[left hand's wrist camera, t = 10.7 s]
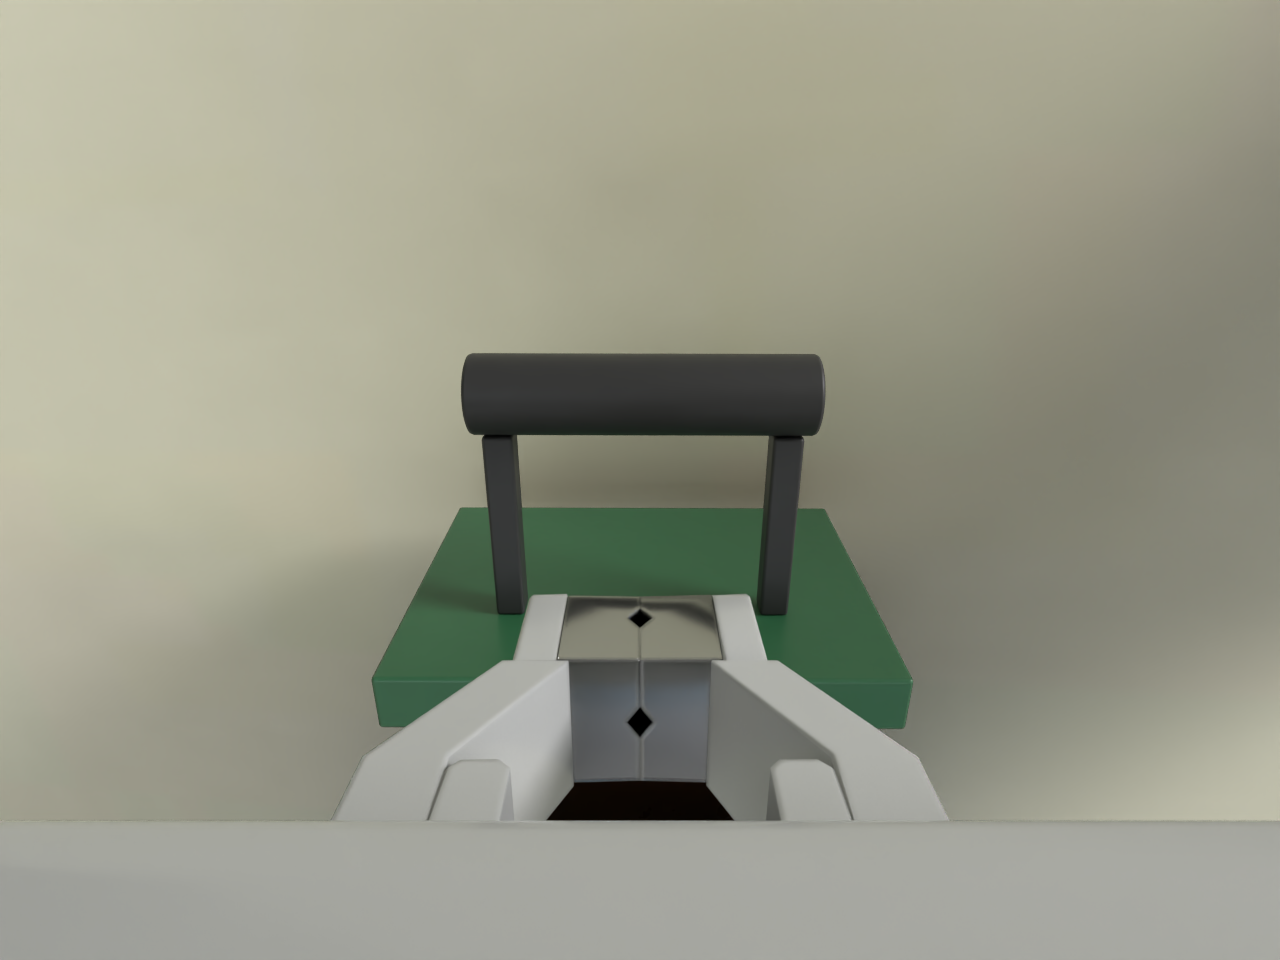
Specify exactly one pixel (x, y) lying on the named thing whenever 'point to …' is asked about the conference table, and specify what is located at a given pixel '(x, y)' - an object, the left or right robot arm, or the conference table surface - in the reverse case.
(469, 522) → the drawer
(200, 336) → the conference table surface
